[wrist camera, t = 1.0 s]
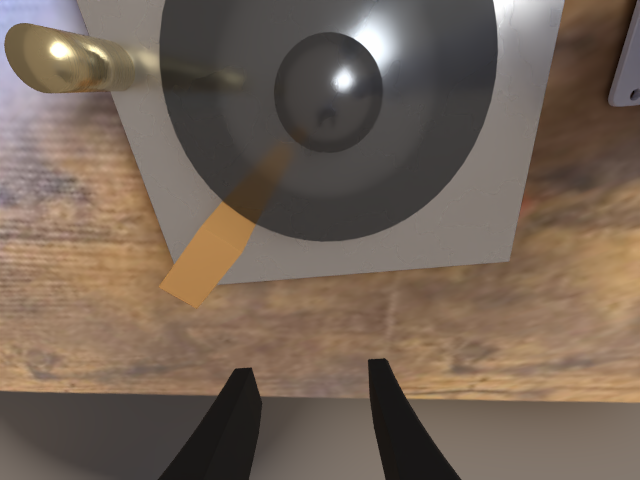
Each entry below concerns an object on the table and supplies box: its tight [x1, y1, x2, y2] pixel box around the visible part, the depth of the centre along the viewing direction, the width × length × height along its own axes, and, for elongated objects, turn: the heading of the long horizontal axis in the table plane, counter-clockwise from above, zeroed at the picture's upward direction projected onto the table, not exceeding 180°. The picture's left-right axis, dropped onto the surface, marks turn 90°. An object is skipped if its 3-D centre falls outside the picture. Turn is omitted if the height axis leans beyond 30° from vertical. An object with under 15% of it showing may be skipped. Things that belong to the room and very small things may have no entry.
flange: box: [159, 0, 498, 309], centre depth 13 cm, size 18×14×4 cm
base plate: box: [4, 0, 565, 285], centre depth 13 cm, size 20×20×6 cm
